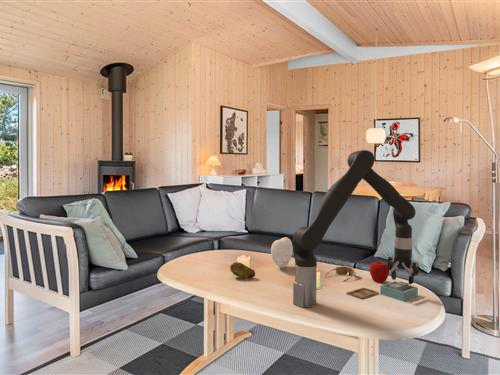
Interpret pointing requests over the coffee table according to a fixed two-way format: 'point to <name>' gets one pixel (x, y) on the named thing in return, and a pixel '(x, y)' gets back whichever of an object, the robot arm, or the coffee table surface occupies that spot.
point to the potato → (242, 270)
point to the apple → (379, 271)
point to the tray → (362, 293)
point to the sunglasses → (344, 271)
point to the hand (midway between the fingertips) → (402, 281)
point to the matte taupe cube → (396, 286)
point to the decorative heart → (281, 252)
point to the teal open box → (399, 292)
